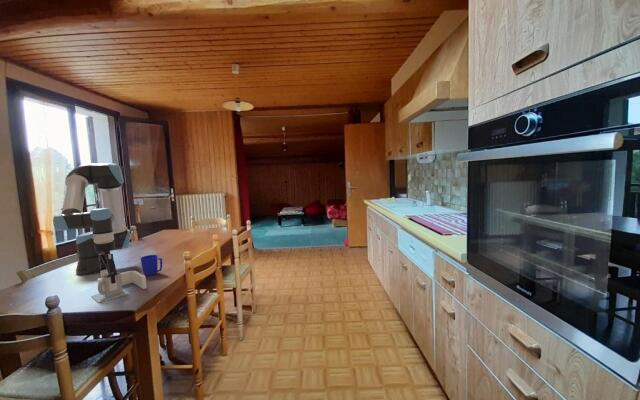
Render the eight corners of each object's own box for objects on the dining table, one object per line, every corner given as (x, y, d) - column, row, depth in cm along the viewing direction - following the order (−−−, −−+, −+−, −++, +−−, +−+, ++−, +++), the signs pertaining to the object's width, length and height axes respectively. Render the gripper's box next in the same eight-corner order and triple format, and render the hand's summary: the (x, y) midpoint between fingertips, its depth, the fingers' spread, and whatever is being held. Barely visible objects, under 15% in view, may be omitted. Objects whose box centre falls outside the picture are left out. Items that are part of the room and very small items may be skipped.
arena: (98, 290, 143) (97, 278, 143) (135, 280, 155) (133, 269, 155) (108, 299, 132) (106, 286, 132) (146, 288, 144) (145, 276, 144)
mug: (157, 277, 160) (155, 259, 159) (138, 276, 162) (136, 258, 161) (168, 271, 168) (166, 254, 167) (150, 271, 170) (148, 254, 169)
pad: (91, 296, 137) (91, 295, 137) (121, 288, 146) (121, 287, 146) (98, 303, 129) (97, 302, 129) (129, 293, 138) (129, 293, 138)
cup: (126, 291, 140) (124, 273, 139) (104, 300, 131) (101, 280, 130) (116, 289, 143) (114, 271, 142) (94, 298, 134) (91, 279, 133)
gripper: (87, 240, 140) (93, 283, 142) (101, 247, 124) (107, 296, 126) (106, 237, 146) (111, 278, 148) (122, 243, 129) (127, 290, 132)
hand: (109, 286), depth 137 cm, fingers open, 13 cm apart
